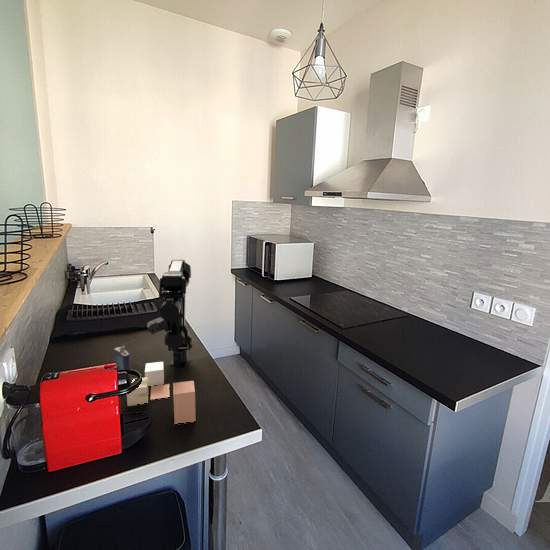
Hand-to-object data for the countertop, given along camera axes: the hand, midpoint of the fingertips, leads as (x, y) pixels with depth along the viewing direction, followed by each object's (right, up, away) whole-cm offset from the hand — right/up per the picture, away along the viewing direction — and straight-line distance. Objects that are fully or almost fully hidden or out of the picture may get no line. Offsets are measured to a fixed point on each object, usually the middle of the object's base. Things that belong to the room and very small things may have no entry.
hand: (175, 352), depth 115 cm
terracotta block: (+7, -16, -15) cm, 23 cm away
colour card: (-4, -13, -3) cm, 14 cm away
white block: (-8, -11, +4) cm, 15 cm away
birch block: (-10, -14, -7) cm, 18 cm away
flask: (-22, -10, +9) cm, 25 cm away
